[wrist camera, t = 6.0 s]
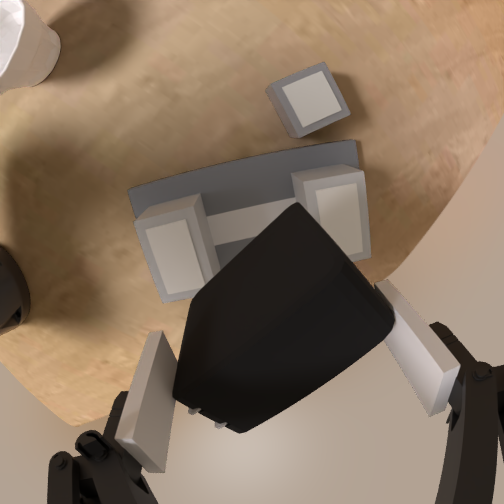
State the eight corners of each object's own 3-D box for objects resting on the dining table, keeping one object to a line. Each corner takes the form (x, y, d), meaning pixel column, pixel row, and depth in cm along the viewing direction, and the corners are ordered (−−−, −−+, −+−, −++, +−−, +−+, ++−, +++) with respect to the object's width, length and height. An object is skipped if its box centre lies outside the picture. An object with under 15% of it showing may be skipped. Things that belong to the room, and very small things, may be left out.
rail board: (166, 291, 38) (153, 326, 31) (131, 187, 33) (106, 203, 26) (362, 248, 38) (388, 274, 30) (350, 139, 32) (379, 142, 25)
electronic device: (334, 241, 20) (402, 325, 11) (232, 329, 23) (234, 439, 13) (295, 198, 19) (350, 261, 10) (190, 296, 21) (167, 404, 12)
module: (289, 137, 32) (299, 138, 27) (264, 90, 30) (270, 83, 25) (335, 116, 31) (352, 114, 26) (311, 70, 29) (324, 61, 24)
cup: (62, -1, 22) (18, -27, 12) (85, 64, 26) (35, 46, 16) (-2, 54, 23) (-52, 47, 13) (16, 119, 28) (-39, 124, 17)
